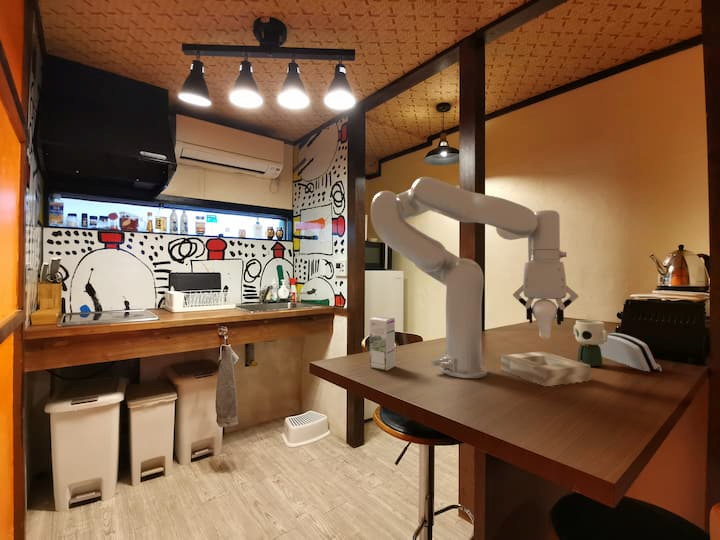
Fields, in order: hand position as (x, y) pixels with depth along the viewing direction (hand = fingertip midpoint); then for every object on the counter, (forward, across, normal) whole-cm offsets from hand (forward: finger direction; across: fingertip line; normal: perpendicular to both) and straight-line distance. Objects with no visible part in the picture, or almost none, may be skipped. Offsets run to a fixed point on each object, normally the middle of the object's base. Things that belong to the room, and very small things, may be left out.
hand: (544, 322), depth 90 cm
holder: (+14, 0, 0) cm, 14 cm away
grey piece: (+15, -22, -24) cm, 36 cm away
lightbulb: (+5, 0, 0) cm, 5 cm away
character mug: (+15, -12, -17) cm, 25 cm away
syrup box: (+14, +42, +14) cm, 46 cm away
